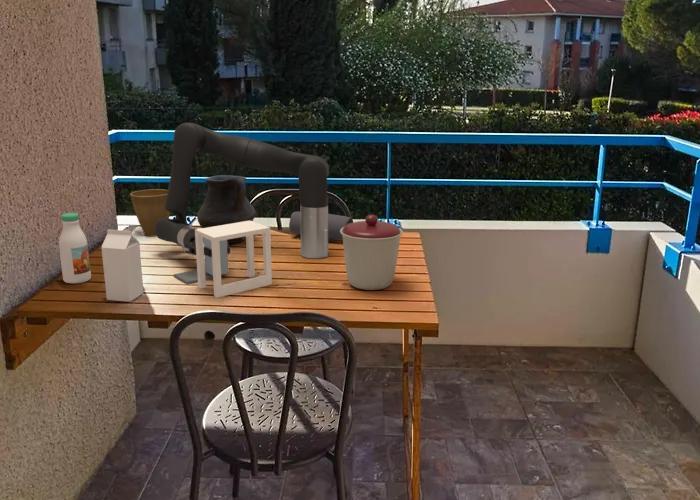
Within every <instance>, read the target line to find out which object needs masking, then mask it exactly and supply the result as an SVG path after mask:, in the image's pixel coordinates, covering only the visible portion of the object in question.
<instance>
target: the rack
mask: <svg viewBox="0 0 700 500" xmlns="http://www.w3.org/2000/svg"><path fill="white" fill-rule="evenodd" d="M261 234H262V253H263V254H262V255H263V257H262V258H263V275H259V276H256V271H255V246H254V245H255V244H254V235H261ZM271 234H272V233H271V227H270V226H267V225H264V224H261V223H259V222H255V221H254V220H253V221H244V222H238V223H232V224H226V225H220V226H214V227H208V228H202V227H201V228H197V229H196V230H195V241H196V256H195V257H196V270H197V274H198V282H197V288H199V289H202V290H203V289H206V288H207V283H206V281H207V280H206V279H205V255H204V244H203V237H204V238H206V239H208V240H211V246H212V265H213V279H212V280H213V281H212V282H213V296H214V297H215V298H216V299H218V298H222V297H227V296H230V295H234V294H238V293H242V292H247V291H250V290H254V289H258V288H263V287H267V286H270V285H271V286H272V284H273V277H272V250H271V249H272V245H271V244H272V242H271V239H272V238H271V237H272V235H271ZM238 237H244V238H245V242H246V243H245V245H246V248H245V250H246V270H247V271H246V275H247V277H248V278H246V279H242V280H238V281H234V282H229V283H225V284H222V274H221V264H220V243H219V241H222V240H228V239H233V238H238Z"/></svg>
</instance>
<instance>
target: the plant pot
mask: <svg viewBox="0 0 700 500" xmlns="http://www.w3.org/2000/svg"><path fill="white" fill-rule="evenodd" d="M167 192H168V189H163V188H162V189H161V188H160V189H157V188H156V189H154V188H153V189H143V190H142V189H141V190H137V191H132V192H131V193H130V199H131V202H132V206H133V207H132V208H133V209H134V210H133V211H134V212H135V213H134V214H135V215H136V218H137V221H138V224H139V226H140V227H141V228H140V229H142V232H143V234H144V236H147V237H157V236H156V234H155V232H154V226H155V223H156V222H157V221H158V220H159V219H162V218H167V219H170V215H171V212H169V211H167V210H166V209H165V202H166V197H167Z"/></svg>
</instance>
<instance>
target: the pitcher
mask: <svg viewBox="0 0 700 500" xmlns="http://www.w3.org/2000/svg"><path fill="white" fill-rule="evenodd" d="M246 180H247V178H246V177H245V176H241V175H226V174H225V175H224V174H223V175H222V174H221V175H213V176H209V177H206V178H205V179H204V181H205V183H206V184H207V186H208V187H207V191H206V195H205V198H204V202H203V203H202V205H201V207H200V208H199V209H198V212H197V215H196V218H197V222H198V224H199V226H200V227H201V229H202V228H208V227H214V226H220V225H226V224H232V223H238V222H244V221H253V222H254V219H255V217H256V215H257V212H256V209H255V207H254V206H253V205H252V203H250V200H249V199H248V198H247V195H246V194H247V187H246V183H245V182H246ZM244 238H245V236H244V237H238V238H233V239H228V240H227V241H228V242H229V245H234V244H239V243H241V242H242V240H243V239H244Z"/></svg>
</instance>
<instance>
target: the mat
mask: <svg viewBox="0 0 700 500" xmlns="http://www.w3.org/2000/svg"><path fill="white" fill-rule="evenodd" d="M173 277H174V278H176V279H177V280H179V281H180V282H182V283H184V284H185V285H188V286H189V285H190V284H196V283H197V284H198V274H197V269H194V270H193V269H192V270H188V271H184V272H179V273H174V274H173ZM205 279H206V281H209V280H213V276H212V275H210V274H209V273H207V272H206V271H205Z"/></svg>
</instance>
